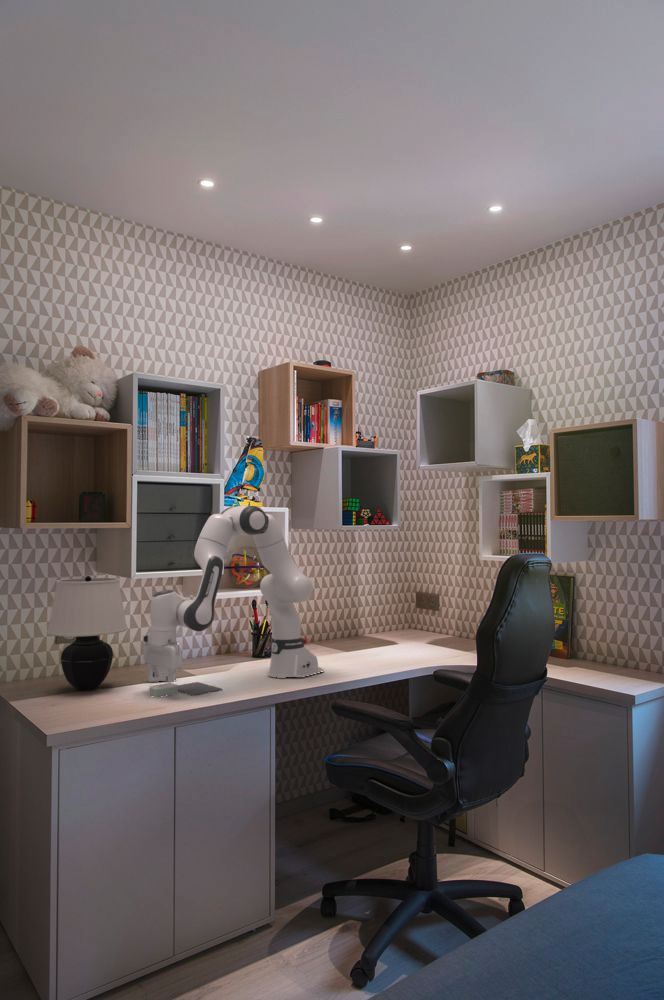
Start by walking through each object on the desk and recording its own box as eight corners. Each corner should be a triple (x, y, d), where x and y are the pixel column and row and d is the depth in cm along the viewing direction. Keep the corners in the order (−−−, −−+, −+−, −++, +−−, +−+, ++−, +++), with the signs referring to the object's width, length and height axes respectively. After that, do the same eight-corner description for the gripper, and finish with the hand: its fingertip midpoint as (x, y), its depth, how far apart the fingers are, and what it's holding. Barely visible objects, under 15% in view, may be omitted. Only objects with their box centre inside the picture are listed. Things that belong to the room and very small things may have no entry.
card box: (170, 692, 244) (170, 682, 244) (177, 695, 240) (177, 684, 241) (149, 696, 238) (149, 686, 238) (156, 699, 235) (156, 688, 235)
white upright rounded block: (176, 679, 265) (176, 646, 266) (176, 681, 261) (176, 648, 261) (147, 680, 262) (147, 647, 263) (147, 683, 258) (147, 649, 259)
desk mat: (197, 683, 258) (197, 681, 258) (222, 690, 246) (222, 688, 246) (168, 688, 249) (168, 686, 249) (192, 695, 238) (192, 694, 238)
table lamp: (118, 678, 267) (119, 572, 268) (134, 692, 243) (135, 576, 245) (41, 686, 254) (43, 575, 256) (51, 702, 230) (52, 579, 232)
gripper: (187, 640, 234) (186, 682, 234) (156, 634, 249) (156, 674, 249) (170, 642, 230) (169, 685, 229) (140, 636, 245) (139, 676, 244)
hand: (162, 679), depth 239 cm, fingers open, 8 cm apart
